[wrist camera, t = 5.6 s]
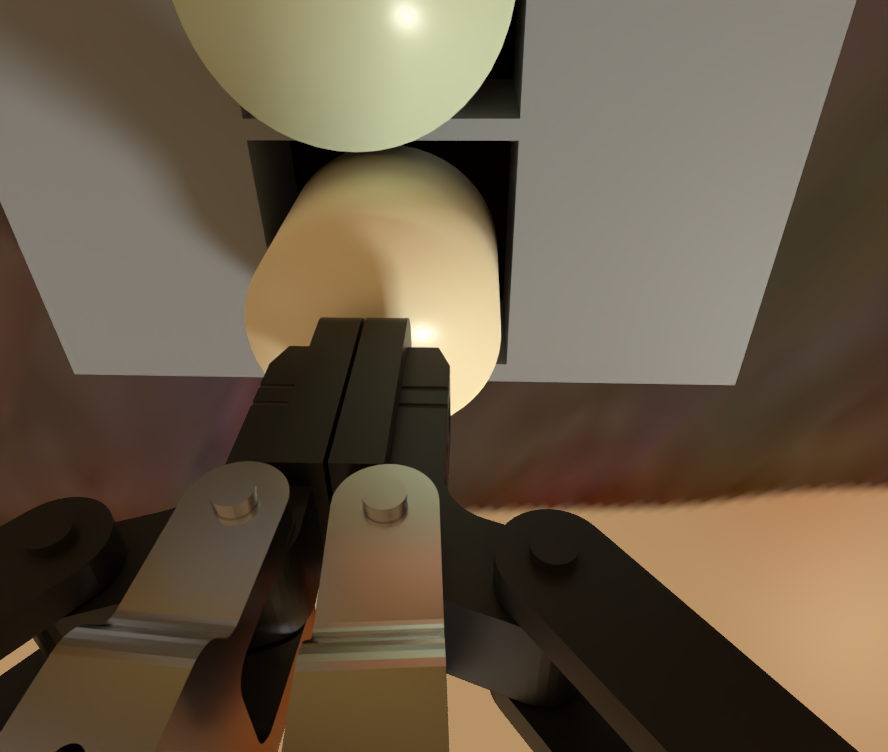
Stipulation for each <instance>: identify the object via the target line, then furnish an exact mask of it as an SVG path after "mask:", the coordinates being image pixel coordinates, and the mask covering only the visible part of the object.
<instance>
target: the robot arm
mask: <svg viewBox="0 0 888 752" xmlns="http://www.w3.org/2000/svg"><path fill="white" fill-rule="evenodd" d="M450 439H451V411H450V365H449V363H448V362H447V360H446V359H445V357H444V355H443V354H442V352H441V351H440V349H439V348H432V347H412V342H411V326H410V320H409V318H366V319H364V318H336V317H321V318H320V319H319V321H318V324H317V326H316V329H315V332H314V334H313V337H312V340H311V343H310V345H309V346H289V347H288V348H287V349H285V350H284V351H283V352H282V353H281V354H280V355H279V356H277V357H276V358H275V359H274V360H273V361H272V362H271V363H270V364H269V366H268V368H267V370H266V373H265V375H264V377H263V380H262V382H261V388H259V389H258V391H257V393H256V396H255V398H254V400H253V406H252V405H251V407H250V409H249V412H248V414H247V416H246V418H245V421H244V423H243V425H242V428H241V430H240V432H239V435H238V437H237V439H236V441H235V444H234V446H233V448H232V451H231V453H230V455H229V457H228V460H227V462H226V464H225V465H223V466H220V467H218V468H215V469H213V470H211V471H209V472H207V473H206V474H204V475H203V476H201V477H200V478H199V479H197V480H196V481H195V482H194V483H193V484H192V485H191V486H190V487H189V488H188V489H187V491H186V492H185V494H184V495H183V497H182V499H181V500H180V502H179V504H178V505H177V507H175V508H173V509H170V510H166V511H163V512H158V513H154V514H150V515H145V516H141V517H136V518H132V519H128V520H123V521H119V522H115V521H114V519H113V516H112V514H111V512H110V510H109V509H108V508H107V507H106V506H105V505H104V504H103V503H101V502H99V501H97V500H95V499H91V498H86V497H69V498H63V499H58V500H54V501H51V502H47V503H45V504H42V505H40V506H37V507H35V508H33V509H31V510H29V511H27V512H25V513H24V514H22V515H20V516H18V517H17V518H15V519H13V520H11V521H10V522H8V523H6V524H4V525H3V526H1V527H0V660H1V659H3V658H4V657H5V656H7V655H8V654H10V653H11V652H13V651H14V650H16V649H17V648H19V647H20V646H22V645H23V644H25V643H26V642H27V641H29V640H30V639H32V638H33V639H34V641H35V642H36V644H37V645H38V646H39V648H40V649H38V650H37V651H35V652H34V653H33V654H31V655H30V656H28V657H27V658H25V659H24V660H22V661H21V662H20V663H18V664H17V665H15V666H14V667H12V668H11V669H10V670H8V671H7V672H5V673H4V674H2V675H1V676H0V752H278V749H279V745H280V742H281V739H282V736H283V732H284V729H285V733H284V739H283V746H282V752H449V736H448V735H449V734H448V707H447V683H446V681H447V680H446V673H447V674H449V675H452V676H455V677H457V678H460V679H462V680H465V681H468V682H470V683H473V684H475V685H478V686H481V687H483V688H486V689H488V690H490V692H491V695H492V697H493V699H494V701H495V703H496V704H497V706H498V707H499V709H500V710H501V711H502V712H503V714H504V715H505V716H506V718H507V719H508V720H509V721H510V723H511V724H512V725H513V726H514V728H515V729H516V730H517V731H518V733H519V734H520V735H521V737H522V738H523V739H524V740H525V742H526V743H527V744H528V745H529V747H530V748H531V749H532V750H533V751H534V752H858V751H857V750H856V749H855V748H854V747H852V746H851V745H850V744H849V743H847V741H845V740H844V739H843V738H842V737H841V736H839V735H838V734H837V733H836V732H835V731H834V730H833V729H831V728H830V727H829V726H828V725H827V724H825V723H824V722H823V721H822V720H821V719H820V718H818V717H817V716H816V715H815V714H814V713H813V712H811V711H810V710H809V709H808V708H807V707H805V706H804V705H803V704H802V703H801V702H800V701H799V700H797V699H796V698H795V697H794V696H793V695H791V694H790V693H789V692H788V691H787V690H786V689H785V688H783V687H782V686H781V685H780V684H779V683H778V682H776V681H775V680H774V679H773V678H771V676H769V675H768V674H767V673H766V672H765V671H763V670H762V669H761V668H760V667H759V666H758V665H756V664H755V663H754V662H753V661H752V660H751V659H749V658H748V657H747V656H746V655H745V654H744V653H742V652H741V651H740V650H739V649H738V648H737V647H735V646H734V645H733V644H732V643H731V642H730V641H728V640H727V639H726V638H725V637H724V636H722V635H721V634H720V633H719V632H718V631H717V630H715V629H714V628H713V627H712V626H711V625H709V624H708V623H707V622H706V621H705V620H704V619H703V618H701V617H700V616H699V615H698V614H697V613H696V612H694V611H693V610H692V609H691V608H690V607H688V606H687V605H686V604H685V603H684V602H683V601H681V600H680V599H679V598H678V597H677V596H676V595H674V594H673V593H672V592H671V591H670V590H669V589H668V588H666V587H665V586H664V585H663V584H662V583H661V582H659V581H658V580H657V579H656V578H655V577H653V576H652V575H651V574H650V573H649V572H648V571H646V570H645V569H644V568H643V567H642V566H641V565H639V564H638V563H637V562H636V561H635V560H634V559H632V558H631V557H630V556H629V555H628V554H626V553H625V552H624V551H623V550H622V549H621V548H620V547H618V546H617V545H616V544H615V543H614V542H613V541H611V540H610V539H609V538H608V537H607V536H605V535H604V534H603V533H602V532H601V531H600V530H598V529H597V528H596V527H595V526H594V525H592V524H590V523H589V522H588V521H586V520H585V519H583V518H581V517H579V516H577V515H574V514H572V513H569V512H565V511H561V510H553V509H540V510H533V511H529V512H526V513H523V514H521V515H519V516H517V517H514V518H513V519H512V520H510V521H509V522H508V523H507V524H506V525H504V524H500V523H497V522H494V521H491V520H487V519H484V518H482V517H479V516H476V515H474V514H472V513H470V512H469V511H467V510H466V509H464V508H463V507H461V506H460V505H459V504H458V503H457V502H456V501H455V500H454V499H453V498H452V496H451V495H450V494H449V492H448V475H449V456H450ZM318 589H319V592H318ZM317 593H318V599H317V607H316V609H315V603H316V598H317ZM285 726H286V727H285Z"/></svg>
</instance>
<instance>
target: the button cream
mask: <svg viewBox="0 0 888 752" xmlns="http://www.w3.org/2000/svg"><path fill="white" fill-rule="evenodd" d="M321 317H336V318H364V319H366V318H409V320H410V326H411V342H412V347H432V348H439V349H440V351H441V352H442V354H443V355H444V357H445V359H446V360H447V362H448V363H449V365H450V411H451V415H452V414H454V413H455V412H457V411H459V410H460V409H462V408H463V407H464V406H465V405H467V404H468V403H469V402H470V401H471V400H472V399H474V397H475V396H476V395H477V394H478V393H479V392H480V391H481V390H482V388H483V387H484V385H485V384H486V382H487V381H488V379H489V378H490V376H491V374H492V372H493V370H494V367H495V365H496V362H497V359H498V355H499V351H500V343H501V318H500V296H499V274H498V252H497V236H496V230H495V224H494V221H493V218H492V215H491V212H490V210H489V208H488V206H487V204H486V202H485V200H484V198H483V197H482V195H481V194H480V192H479V191H478V189H477V188H476V187H475V186H474V185H473V184H472V182H471V181H470V180H469V179H468V178H467V177H466V176H465V175H464V174H463V173H461V172H460V171H459V170H458V169H457V168H455V167H454V166H452V165H451V164H449V163H448V162H446V161H445V160H443V159H441V158H439V157H437V156H435V155H433V154H431V153H428V152H425V151H422V150H419V149H416V148H411V147H406V146H401V145H400V146H397V147H394V148H389V149H384V150H379V151H369V152H346V153H344V154H342V155H340V156H338V157H336V158H334V159H332V160H331V161H329V162H328V163H326V164H325V165H324V166H322V167H321V168H320V169H319V170H318V171H317V172H316V173H315V174H314V175H313V176H312V177H311V178H310V179H309V180H308V182H307V183H306V184H305V186H304V187H303V189H302V190H301V192H300V194H299V196H298V197H297V199H296V201H295V203H294V204H293V206H292V208H291V210H290V211H289V213H288V215H287V217H286V218H285V220H284V222H283V224H282V225H281V227H280V229H279V231H278V233H277V234H276V236H275V238H274V240H273V241H272V243H271V245H270V247H269V248H268V250H267V252H266V254H265V255H264V257H263V259H262V261H261V262H260V264H259V266H258V268H257V270H256V271H255V273H254V275H253V277H252V279H251V282H250V285H249V288H248V291H247V296H246V302H245V325H246V332H247V337H248V340H249V343H250V346H251V349H252V351H253V353H254V356H255V358H256V360H257V362H258V363H259V365H260V367H261V368H262V370H263V371H264V373H266V370H267V368H268V366H269V364H270V363H271V362H272V361H273V360H274V359H275V358H276V357H277V356H279V355H280V354H281V353H282V352H283V351H284V350H285V349H287V348H288V347H289V346H309V345H310V343H311V340H312V337H313V334H314V332H315V329H316V326H317V324H318V321H319V319H320V318H321Z"/></svg>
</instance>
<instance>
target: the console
mask: <svg viewBox="0 0 888 752" xmlns="http://www.w3.org/2000/svg"><path fill="white" fill-rule="evenodd" d="M855 3H856V0H517V18H516V39H515V60H514V79H485V80H484V82H483V83H482V85H481V86H480V88H479V89H478V90H477V92H476V93H475V94H474V95H473V96H472V98H471V99H470V100H469V101H468V102H467V103H466V105H465V106H464V107H463V108H461V109H460V110H459V111H458V112H457V113H456V114H455V115H454V116H453V117H452V118H450V119H449V120H448V121H447V122H445V123H444V124H442V125H441V126H439V127H438V128H436V129H435V130H434V131H432V132H430V133H428V134H426V135H424V136H422V137H420V138H418V139H416V140H414V141H511V145H510V166H509V187H508V209H507V230H506V251H505V272H504V293H503V300H500V318H501V343H500V351H499V355H498V359H497V362H496V365H495V367H494V370H493V372H492V374H491V376H490V378H489V379H488V381H519V382H579V383H639V384H699V385H735V383H736V380H737V377H738V374H739V371H740V367H741V364H742V361H743V358H744V355H745V352H746V348H747V345H748V342H749V339H750V336H751V333H752V329H753V326H754V323H755V320H756V317H757V314H758V310H759V307H760V304H761V301H762V298H763V295H764V291H765V288H766V285H767V282H768V279H769V276H770V272H771V269H772V266H773V263H774V260H775V257H776V253H777V250H778V247H779V244H780V241H781V238H782V234H783V231H784V228H785V225H786V222H787V219H788V215H789V212H790V209H791V206H792V203H793V200H794V196H795V193H796V190H797V187H798V184H799V181H800V177H801V174H802V171H803V168H804V165H805V162H806V158H807V155H808V152H809V149H810V146H811V143H812V139H813V136H814V133H815V130H816V127H817V124H818V120H819V117H820V114H821V111H822V108H823V105H824V101H825V98H826V95H827V92H828V89H829V86H830V82H831V79H832V76H833V73H834V70H835V67H836V63H837V60H838V57H839V54H840V51H841V48H842V44H843V41H844V38H845V35H846V32H847V29H848V25H849V22H850V19H851V16H852V13H853V10H854V6H855ZM290 140H294V139H292V138H290V137H288V136H286V135H284V134H282V133H280V132H277V131H276V130H274V129H273V128H271V127H269V126H268V125H266V124H264V123H263V122H261V121H260V120H258V119H257V118H256V117H254V116H253V115H252V114H251V113H249V112H248V111H247V110H245V109H244V108H243V107H242V106H240V105H239V104H238V103H237V102H236V101H235V100H234V99H233V98H232V97H231V96H230V95H229V94H228V93H227V92H226V91H225V90H224V89H223V88H222V86H221V85H220V84H219V83H218V82H217V80H216V79H215V78H214V77H213V75H212V74H211V73H210V72H209V71H208V69H207V68H206V66H205V65H204V63H203V62H202V60H201V59H200V57H199V55H198V54H197V52H196V51H195V49H194V48H193V46H192V44H191V42H190V40H189V38H188V36H187V34H186V32H185V30H184V28H183V26H182V24H181V21H180V19H179V16H178V14H177V11H176V9H175V6H174V4H173V1H172V0H0V202H1V204H2V207H3V209H4V211H5V214H6V216H7V218H8V221H9V223H10V225H11V228H12V230H13V232H14V235H15V237H16V239H17V242H18V244H19V246H20V248H21V251H22V253H23V255H24V258H25V260H26V262H27V265H28V267H29V269H30V272H31V274H32V276H33V279H34V281H35V283H36V286H37V288H38V290H39V293H40V295H41V297H42V299H43V302H44V304H45V306H46V309H47V311H48V313H49V316H50V318H51V320H52V323H53V325H54V327H55V330H56V332H57V334H58V337H59V339H60V341H61V344H62V346H63V348H64V351H65V353H66V355H67V357H68V360H69V362H70V364H71V367H72V369H73V371H74V374H99V375H159V376H219V377H264V375H265V373H264V371H263V370H262V368H261V367H260V365H259V363H258V362H257V360H256V358H255V356H254V353H253V351H252V349H251V346H250V343H249V340H248V337H247V332H246V325H245V302H246V296H247V291H248V288H249V285H250V282H251V279H252V277H253V275H254V273H255V271H256V270H257V268H258V266H259V264H260V262H261V261H262V259H263V257H264V255H265V254H266V252H267V250H268V248H269V247H270V245H271V243H272V241H273V240H274V238H275V236H276V234H277V233H278V231H279V229H280V227H281V225H282V224H283V222H284V220H285V218H286V217H287V215H288V213H289V211H290V210H291V208H292V206H293V204H294V203H295V201H296V199H297V197H298V191H297V185H296V178H295V171H294V165H293V158H292V151H291V145H290Z"/></svg>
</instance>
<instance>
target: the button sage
mask: <svg viewBox="0 0 888 752" xmlns="http://www.w3.org/2000/svg"><path fill="white" fill-rule="evenodd" d="M172 1H173V4H174V6H175V9H176V11H177V14H178V16H179V19H180V21H181V24H182V26H183V28H184V30H185V32H186V34H187V36H188V38H189V40H190V42H191V44H192V46H193V48H194V49H195V51H196V52H197V54H198V55H199V57H200V59H201V60H202V62H203V63H204V65H205V66H206V68H207V69H208V71H209V72H210V73H211V74H212V75H213V77H214V78H215V79H216V80H217V82H218V83H219V84H220V85H221V86H222V88H223V89H224V90H225V91H226V92H227V93H228V94H229V95H230V96H231V97H232V98H233V99H234V100H235V101H236V102H237V103H238V104H239V105H240V106H242V107H243V108H244V109H245V110H247V111H248V112H249V113H251V114H252V115H253V116H254V117H256V118H257V119H258V120H260V121H261V122H263V123H264V124H266V125H268V126H269V127H271V128H273V129H274V130H276V131H277V132H280V133H282V134H284V135H286V136H288V137H290V138H292V139H294V140H297V141H300V142H303V143H306V144H309V145H312V146H315V147H319V148H324V149H329V150H334V151H344V152H369V151H379V150H384V149H389V148H394V147H397V146H400V145H403V144H406V143H409V142H412V141H414V140H416V139H418V138H420V137H422V136H424V135H426V134H428V133H430V132H432V131H434V130H435V129H436V128H438V127H439V126H441V125H442V124H444V123H445V122H447V121H448V120H449V119H450V118H452V117H453V116H454V115H455V114H456V113H457V112H458V111H459V110H460V109H461V108H463V107H464V106H465V105H466V103H467V102H468V101H469V100H470V99H471V98H472V96H473V95H474V94H475V93H476V92H477V90H478V89H479V88H480V86H481V85H482V83H483V82H484V80H485V79H486V77H487V76H488V74H489V72H490V71H491V69H492V67H493V65H494V63H495V61H496V59H497V57H498V55H499V53H500V51H501V49H502V46H503V43H504V40H505V38H506V35H507V32H508V29H509V26H510V22H511V18H512V13H513V9H514V4H515V0H172Z"/></svg>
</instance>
